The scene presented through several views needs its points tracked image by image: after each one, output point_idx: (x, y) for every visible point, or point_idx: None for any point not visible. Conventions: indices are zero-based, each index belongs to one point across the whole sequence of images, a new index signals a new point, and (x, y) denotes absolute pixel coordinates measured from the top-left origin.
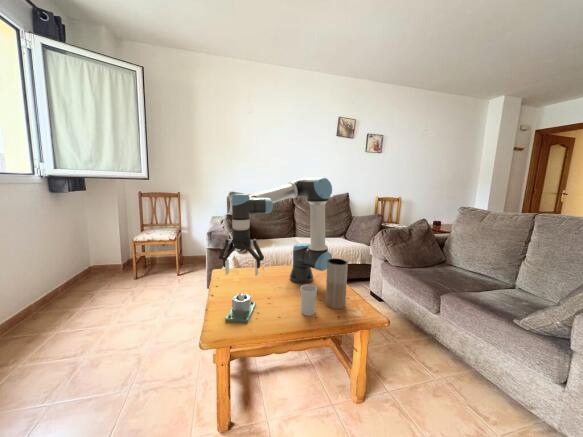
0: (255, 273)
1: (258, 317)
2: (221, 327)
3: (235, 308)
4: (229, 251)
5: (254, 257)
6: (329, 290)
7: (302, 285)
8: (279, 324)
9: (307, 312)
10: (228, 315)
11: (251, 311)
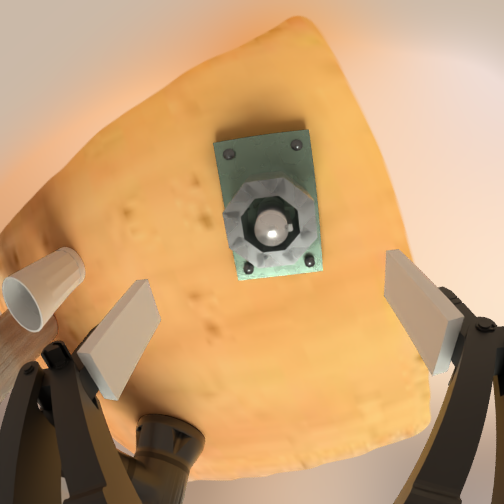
0: (137, 288)
1: (192, 190)
2: (301, 92)
3: (283, 174)
4: (475, 437)
5: (72, 392)
6: (15, 325)
7: (41, 323)
8: (111, 170)
9: (58, 250)
10: (301, 143)
11: (224, 204)
